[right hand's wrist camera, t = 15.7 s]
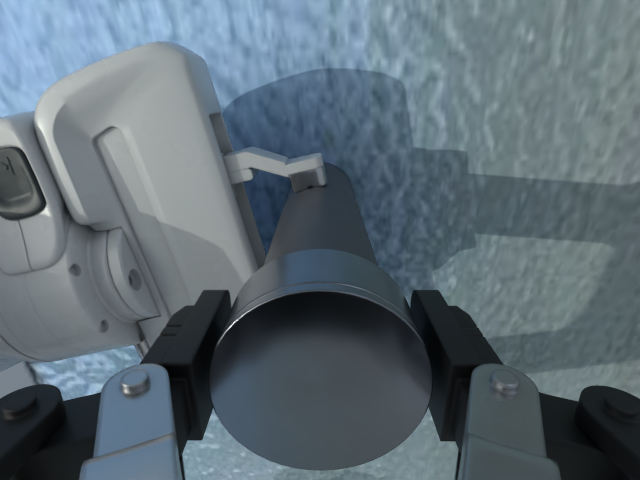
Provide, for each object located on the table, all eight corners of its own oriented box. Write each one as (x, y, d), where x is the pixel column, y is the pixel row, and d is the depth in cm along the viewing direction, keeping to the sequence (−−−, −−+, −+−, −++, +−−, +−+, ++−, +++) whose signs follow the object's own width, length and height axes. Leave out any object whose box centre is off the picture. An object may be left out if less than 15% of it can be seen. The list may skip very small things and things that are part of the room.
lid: (445, 345, 11) (476, 405, 9) (306, 428, 13) (303, 499, 10) (338, 209, 10) (343, 241, 8) (191, 318, 11) (159, 373, 9)
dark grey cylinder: (325, 234, 28) (333, 459, 11) (277, 198, 27) (199, 382, 10) (364, 188, 27) (444, 358, 9) (315, 149, 26) (303, 258, 9)
